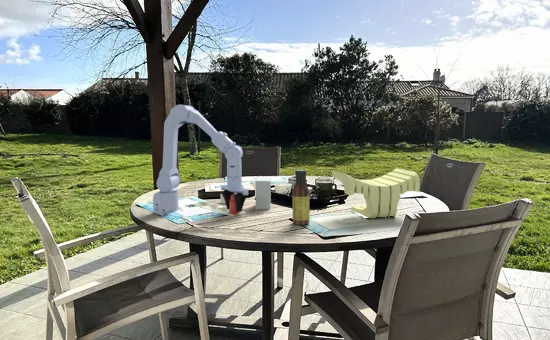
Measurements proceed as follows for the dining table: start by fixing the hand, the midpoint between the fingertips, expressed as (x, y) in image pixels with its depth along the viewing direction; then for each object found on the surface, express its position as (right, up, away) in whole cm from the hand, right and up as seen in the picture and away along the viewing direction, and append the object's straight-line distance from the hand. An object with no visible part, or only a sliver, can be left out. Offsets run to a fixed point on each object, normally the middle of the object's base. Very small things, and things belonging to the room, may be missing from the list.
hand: (234, 210), depth 146 cm
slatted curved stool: (+56, -2, +3) cm, 56 cm away
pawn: (0, -1, 0) cm, 1 cm away
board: (-8, -1, +7) cm, 11 cm away
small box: (+11, -1, +10) cm, 15 cm away
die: (-5, 0, +18) cm, 19 cm away
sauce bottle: (+26, -4, -10) cm, 28 cm away
